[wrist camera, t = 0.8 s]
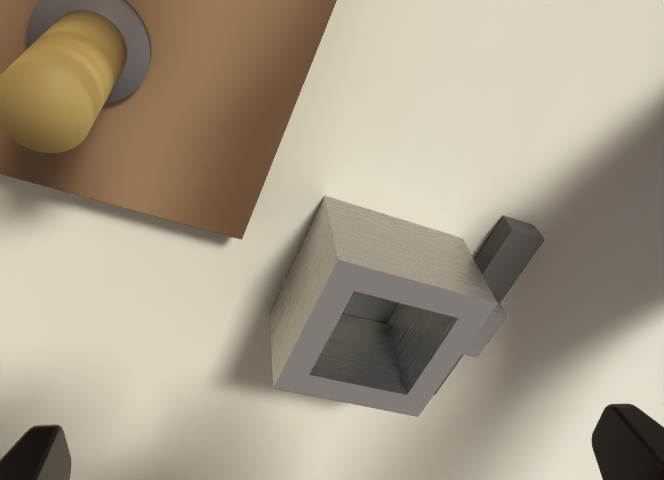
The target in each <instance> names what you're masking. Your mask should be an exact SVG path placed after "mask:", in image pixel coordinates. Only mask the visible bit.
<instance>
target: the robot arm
mask: <svg viewBox="0 0 664 480" xmlns="http://www.w3.org/2000/svg"><path fill="white" fill-rule="evenodd" d="M592 447H593V451H594V454H595V457H596V460H597V463H598V466H599V469H600V472H601V475H602V478H603V480H664V427H663V426H661V425H660V424H659V423H657V422H656V421H655V420H653V419H652V418H651V417H649V416H648V415H647V414H645V413H644V412H643V411H641V410H640V409H639V408H637V407H636V406H634V405H632V404H610V405H608V406H607V407H606V408H605V409H604V411H603V413H602V415H601V417H600V419H599V421H598V423H597V425H596V427H595V429H594V431H593V434H592ZM70 473H71V456H70V453H69V449H68V445H67V442H66V438H65V434H64V431H63V429H62V427H61V426H59V425H38V426H34V427H32V428H30V429H29V430H28V431H27V432H26V433H25V434H24V435H23V436H22V437H21V438H20V439H19V440H18V441H17V442H16V444H15V445H14V446H13V447H12V448H11V449H10V450H9V451H8V452H7V453H6V454H5V455H4V456H3V457H2V458H1V459H0V480H69V479H70Z"/></svg>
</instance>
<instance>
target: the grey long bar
mask: <svg viewBox="0 0 664 480" xmlns="http://www.w3.org/2000/svg"><path fill="white" fill-rule="evenodd" d="M543 241H544V238H543V237H542V236H541V234H540V233H539V231H538V230H537V229H536V227H535V226H533V225H530V224H527V223H524V222H521V221H518V220H515V219H512V218H509V217H506V216H503V217H502V218H501V220H500V221H499V223H498V224H497V226H496V227H495V229H494V231H493V232H492V234H491V235H490V237H489V238H488V240H487V241H486V243H485V244H484V246H483V248H482V249H481V251H480V252H479V254H478V255H477V257H476V258H475V260H474V261H475V263H476V264H477V266H478V268H479V270H480V272H481V274H482V275H483V277H484V279H485V281H486V283H487V285H488V286H489V288H490V290H491V292H492V294H493V296H494V298H495V299H496V301H497V303H498V304H497V305H496V307H495V308H494V310H493V311H492V312H491V314H490V315H489V317H488V318H487V320H486V321H485V322H484V324H483V325H482V327H481V328H480V329H479V331H478V332H477V334H476V335H475V337H474V338H473V339H472V341H471V342H470V344H469V345H468V347H467V348H466V349H465V351H464V352H463V354H465V355H469V356H473V357H477V356H478V355H479V354H480V352H481V351H482V350H483V348H484V347H485V345H486V344H487V343H488V341H489V340H490V338H491V337H492V336H493V334H494V333H495V332H496V330H497V329H498V327H499V326H500V325H501V323H502V322H503V321H504V319H505V318H506V316H507V315H506V313H505V311H504V309H503V308H502V306H501V304H500V302H501V301H502V299H503V298H504V296H505V295H506V294H507V292H508V291H509V289H510V288H511V287H512V285H513V284H514V282H515V281H516V279H517V278H518V277H519V275H520V274H521V272H522V271H523V270H524V268H525V267H526V265H527V264H528V263H529V261H530V260H531V258H532V257H533V255H534V254H535V253H536V251H537V250H538V248H539V247H540V246H541V244H542V243H543ZM463 354H462V355H461V356H460V358H459V359H458V361H457V362H456V364H457V363H458V362H459V360H460V359H461V357H462V356H463ZM456 364H455V365H454V366H453V368H452V369H451V371H452V370H453V369H454V367H455V366H456ZM451 371H450V372H449V373H448V375H447V376H446V378H445V379H444V381H445V380H446V379H447V377H448V376H449V374H450V373H451ZM444 381H443V382H442V383H441V385H440V386H439V388H440V387H441V386H442V384H443V383H444ZM439 388H438V389H437V391H438V390H439ZM437 391H436V392H435V393H434V395H435V394H436V393H437Z"/></svg>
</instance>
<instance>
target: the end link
mask: <svg viewBox="0 0 664 480" xmlns="http://www.w3.org/2000/svg"><path fill="white" fill-rule="evenodd" d="M354 291H356V292H360V293H363V294H367V295H371V296H375V297H379V298H383V299H386V300H390V301H394V302H398V303H399V304H398V306H397V307H396V309H395V311H394V312H393V314H392V316H391V317H390V319H389V321H388V322H387V324H385V323H380V322H376V321H372V320H368V319H364V318H360V317H356V316H352V315H348V314H344V313H343V311H344V309H345V307H346V306H347V304H348V302H349V300H350V298H351V296H352V294H353V293H354ZM497 304H498V303H497V301H496V299H495V298H494V296H493V294H492V292H491V290H490V288H489V286H488V285H487V283H486V281H485V279H484V277H483V275H482V274H481V272H480V270H479V268H478V266H477V264H476V263H475V261H474V259H473V257H472V255H471V253H470V251H469V250H468V248H467V246H466V244H465V242H464V240H463V239H461V238H458V237H455V236H452V235H448V234H445V233H442V232H439V231H435V230H432V229H429V228H426V227H422V226H419V225H416V224H413V223H410V222H406V221H403V220H400V219H397V218H393V217H390V216H387V215H384V214H380V213H377V212H374V211H371V210H368V209H364V208H361V207H358V206H355V205H351V204H348V203H345V202H342V201H338V200H335V199H332V198H329V197H326V196H324V198H323V200H322V203H321V205H320V207H319V209H318V211H317V213H316V216H315V218H314V220H313V222H312V224H311V226H310V229H309V231H308V233H307V235H306V237H305V239H304V242H303V244H302V246H301V248H300V250H299V253H298V255H297V257H296V259H295V261H294V263H293V266H292V268H291V270H290V272H289V274H288V276H287V279H286V281H285V283H284V285H283V287H282V289H281V292H280V294H279V296H278V298H277V300H276V302H275V305H274V307H273V309H272V311H271V313H270V334H271V355H272V376H273V389H278V390H284V391H289V392H294V393H299V394H304V395H309V396H314V397H319V398H325V399H330V400H335V401H340V402H345V403H350V404H355V405H361V406H366V407H371V408H376V409H381V410H386V411H391V412H396V413H402V414H407V415H412V416H417V417H418V416H419V415H420V413H421V412H422V410H423V409H424V408H425V406H426V405H427V403H428V402H429V400H430V399H431V398H432V396H433V395H434V393H435V392H436V391H437V389H438V388H439V386H440V385H441V383H442V382H443V381H444V379H445V378H446V376H447V375H448V373H449V372H450V371H451V369H452V368H453V366H454V365H455V364H456V362H457V361H458V359H459V358H460V356H461V355H462V354H463V352H464V351H465V349H466V348H467V347H468V345H469V344H470V342H471V341H472V339H473V338H474V337H475V335H476V334H477V332H478V331H479V329H480V328H481V327H482V325H483V324H484V322H485V321H486V320H487V318H488V317H489V315H490V314H491V312H492V311H493V310H494V308H495V307H496V305H497Z"/></svg>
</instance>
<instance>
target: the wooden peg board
mask: <svg viewBox="0 0 664 480" xmlns="http://www.w3.org/2000/svg"><path fill="white" fill-rule="evenodd" d="M336 1H337V0H0V174H3V175H6V176H10V177H14V178H17V179H21V180H25V181H28V182H32V183H36V184H40V185H43V186H47V187H51V188H54V189H58V190H62V191H65V192H69V193H73V194H76V195H80V196H84V197H87V198H91V199H95V200H98V201H102V202H106V203H109V204H113V205H117V206H120V207H124V208H128V209H131V210H135V211H139V212H142V213H146V214H150V215H153V216H157V217H161V218H164V219H168V220H172V221H175V222H179V223H183V224H186V225H190V226H194V227H197V228H201V229H205V230H208V231H212V232H216V233H219V234H223V235H227V236H231V237H234V238H238V239H242V238H243V235H244V233H245V230H246V227H247V225H248V222H249V220H250V217H251V215H252V212H253V210H254V207H255V205H256V202H257V200H258V197H259V195H260V192H261V190H262V187H263V185H264V182H265V180H266V177H267V175H268V172H269V170H270V167H271V164H272V162H273V159H274V157H275V154H276V152H277V149H278V147H279V144H280V142H281V139H282V137H283V134H284V132H285V129H286V127H287V124H288V122H289V119H290V117H291V114H292V112H293V109H294V107H295V104H296V101H297V99H298V96H299V94H300V91H301V89H302V86H303V84H304V81H305V79H306V76H307V74H308V71H309V69H310V66H311V64H312V61H313V59H314V56H315V54H316V51H317V49H318V46H319V44H320V41H321V38H322V36H323V33H324V31H325V28H326V26H327V23H328V21H329V18H330V16H331V13H332V11H333V8H334V6H335V3H336Z"/></svg>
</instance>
